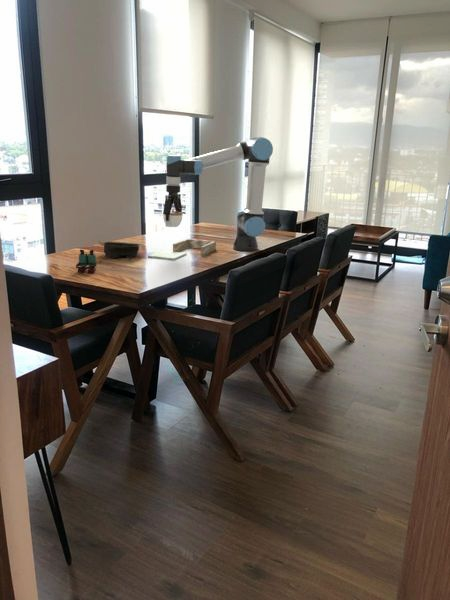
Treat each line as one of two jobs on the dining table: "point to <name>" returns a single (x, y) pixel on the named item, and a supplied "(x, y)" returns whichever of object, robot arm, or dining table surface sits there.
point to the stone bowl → (120, 249)
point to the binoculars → (86, 262)
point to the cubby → (195, 245)
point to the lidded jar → (174, 218)
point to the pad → (167, 255)
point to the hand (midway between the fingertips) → (172, 225)
